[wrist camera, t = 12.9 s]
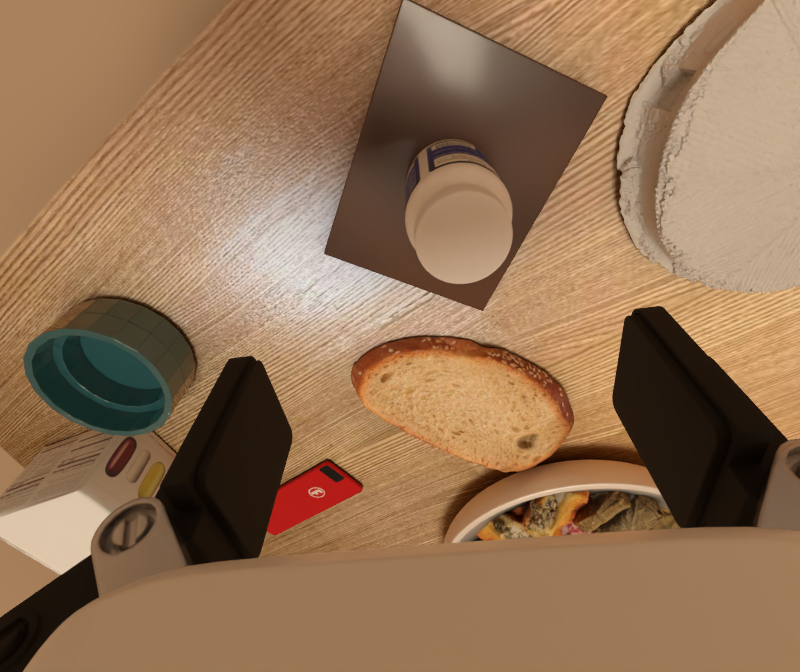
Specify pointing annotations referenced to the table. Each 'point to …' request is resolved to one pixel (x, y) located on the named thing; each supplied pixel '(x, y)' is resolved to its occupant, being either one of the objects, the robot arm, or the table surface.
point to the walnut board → (454, 119)
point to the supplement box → (78, 493)
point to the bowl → (564, 503)
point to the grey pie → (720, 150)
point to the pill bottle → (457, 212)
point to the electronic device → (310, 496)
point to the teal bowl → (111, 367)
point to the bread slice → (466, 400)
